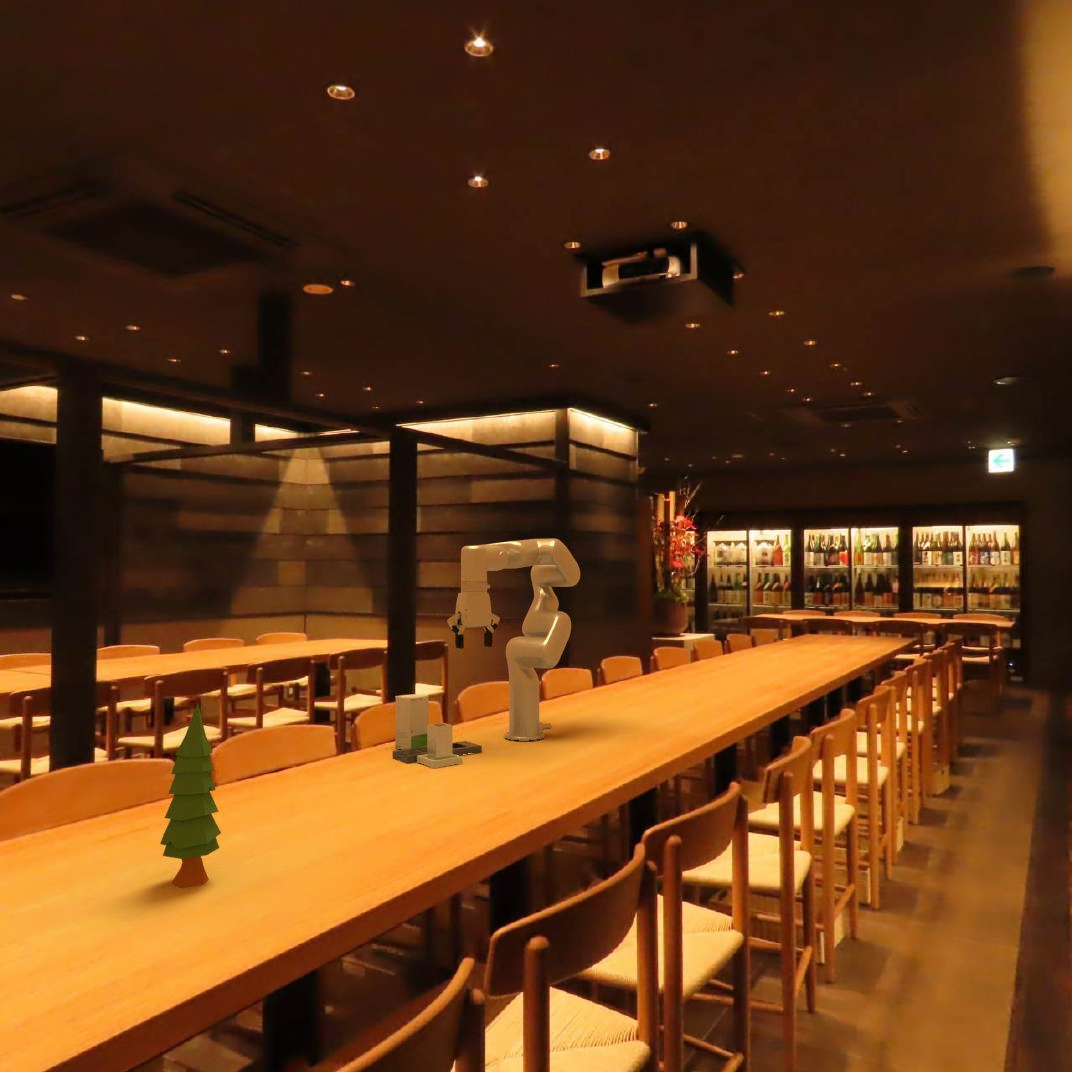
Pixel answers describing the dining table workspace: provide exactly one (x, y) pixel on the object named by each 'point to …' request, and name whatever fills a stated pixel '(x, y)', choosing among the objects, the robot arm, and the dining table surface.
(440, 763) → the tray
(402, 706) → the skincare box
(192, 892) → the dining table surface
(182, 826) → the decorative tree
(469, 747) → the dark grey slotted base
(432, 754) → the tall white block
